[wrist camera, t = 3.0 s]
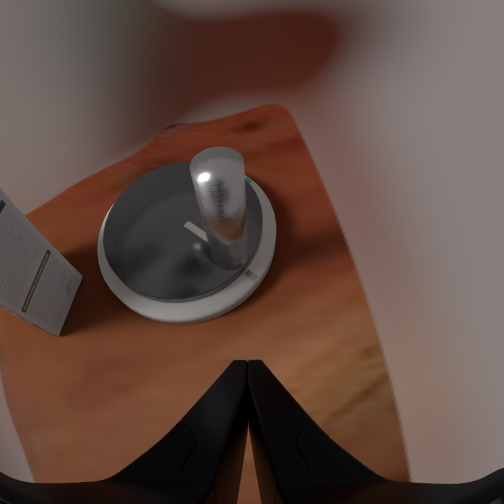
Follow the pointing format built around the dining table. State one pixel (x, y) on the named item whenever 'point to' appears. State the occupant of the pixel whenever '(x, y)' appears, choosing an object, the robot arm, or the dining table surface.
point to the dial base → (211, 304)
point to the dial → (185, 228)
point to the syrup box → (33, 272)
